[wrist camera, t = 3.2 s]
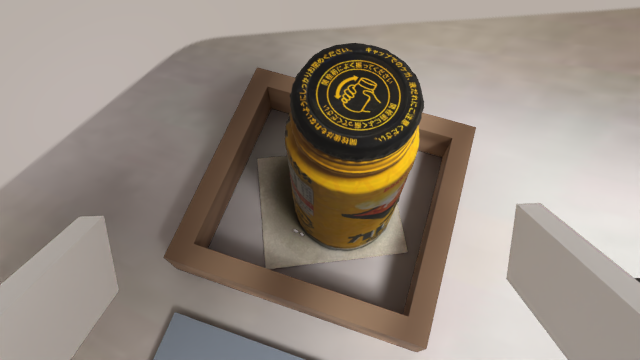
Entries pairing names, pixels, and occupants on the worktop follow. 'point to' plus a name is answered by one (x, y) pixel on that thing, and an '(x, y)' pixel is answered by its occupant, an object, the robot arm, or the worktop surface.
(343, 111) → the condiment
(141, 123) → the worktop surface
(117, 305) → the worktop surface
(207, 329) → the mat
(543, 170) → the worktop surface
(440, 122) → the pocket
